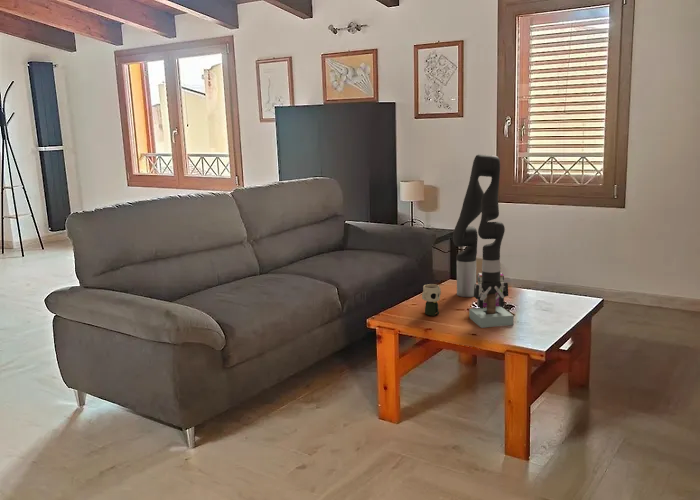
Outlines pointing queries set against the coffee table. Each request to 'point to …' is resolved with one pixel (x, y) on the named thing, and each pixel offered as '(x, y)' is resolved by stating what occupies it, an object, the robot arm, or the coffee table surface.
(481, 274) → the candy bar box
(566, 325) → the coffee table surface
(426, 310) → the character mug
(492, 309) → the peg
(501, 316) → the socket
